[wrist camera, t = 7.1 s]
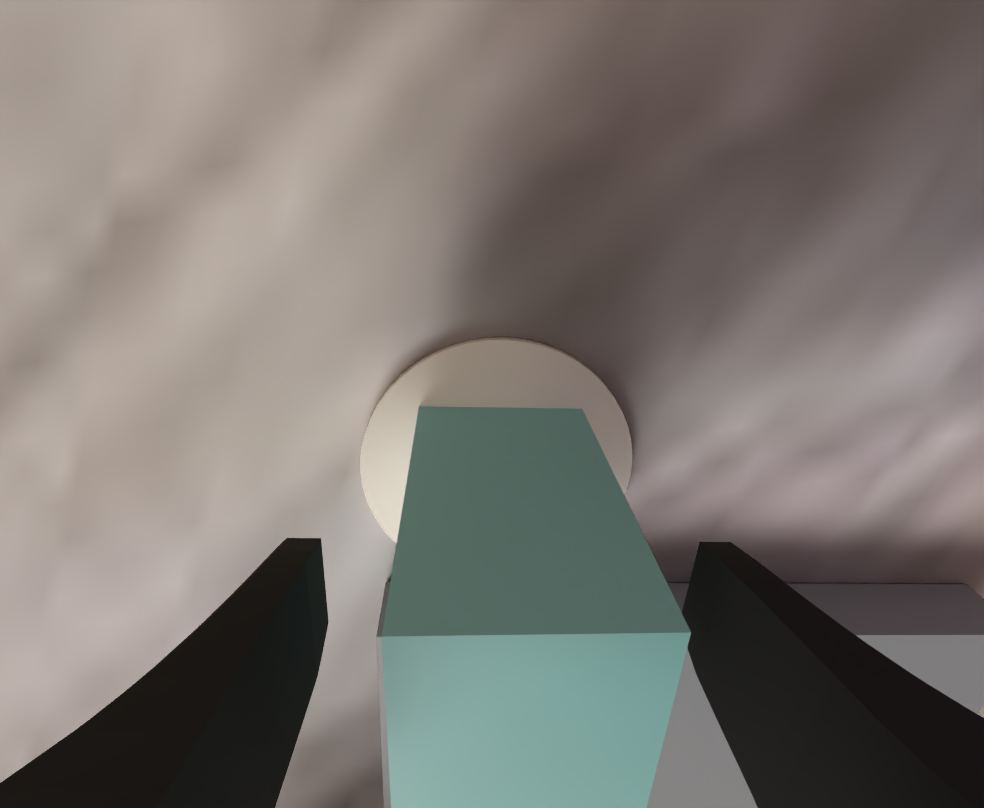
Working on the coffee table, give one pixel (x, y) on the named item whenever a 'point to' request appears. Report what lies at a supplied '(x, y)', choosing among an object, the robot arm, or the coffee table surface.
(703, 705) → the pocket board
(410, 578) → the peg
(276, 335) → the coffee table surface
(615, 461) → the coaster
